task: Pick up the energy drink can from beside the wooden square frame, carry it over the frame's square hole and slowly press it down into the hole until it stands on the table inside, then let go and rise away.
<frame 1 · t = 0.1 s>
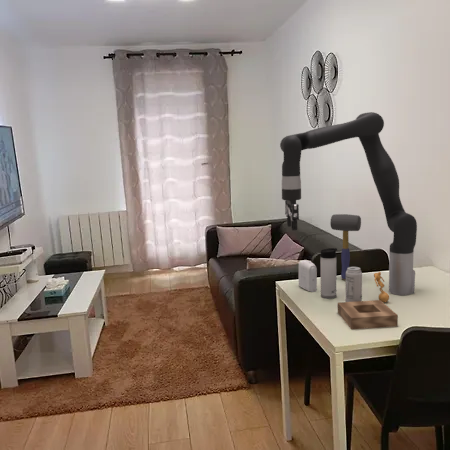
hand: (292, 228, 195), 29 cm above the table, tool pointing down, fingers open, 8 cm apart
travel mug: (328, 296, 202), on the table
wooden square frame: (366, 319, 175), on the table
figurine: (381, 302, 193), on the table
rubber mallet: (345, 280, 224), on the table
photo printer: (307, 289, 213), on the table
energy drink can: (353, 306, 189), on the table
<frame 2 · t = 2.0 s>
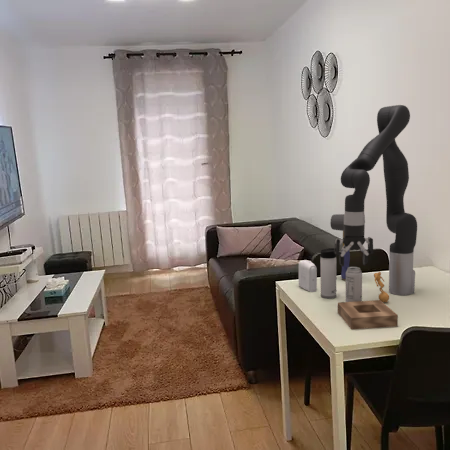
hand: (353, 265, 186), 16 cm above the table, tool pointing down, fingers open, 8 cm apart
nothing on the table moved.
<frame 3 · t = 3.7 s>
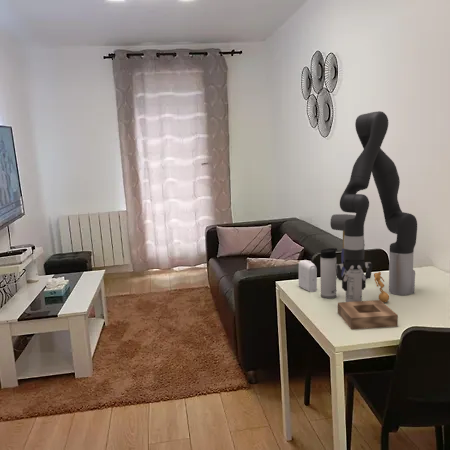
hand: (353, 289, 188), 7 cm above the table, tool pointing down, fingers closed on energy drink can, 6 cm apart
energy drink can: (353, 306, 189), on the table, touching gripper
everything else where it was.
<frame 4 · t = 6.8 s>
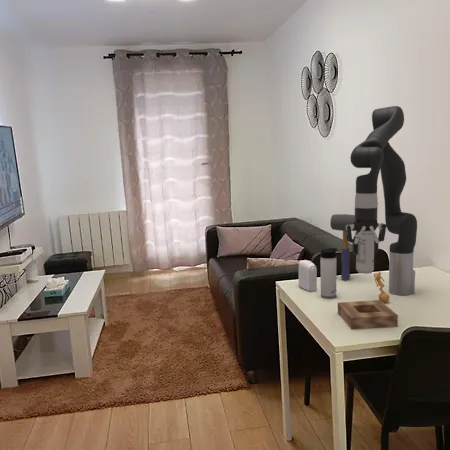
hand: (365, 253, 172), 24 cm above the table, tool pointing down, fingers closed on energy drink can, 6 cm apart
energy drink can: (364, 272, 173), point 17 cm above the table, touching gripper
everything else where it was.
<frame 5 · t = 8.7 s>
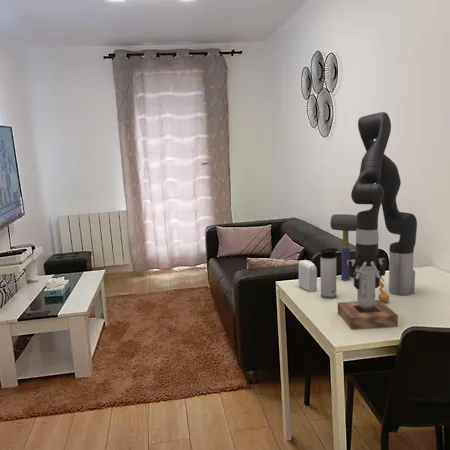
hand: (366, 287, 173), 12 cm above the table, tool pointing down, fingers closed on energy drink can, 6 cm apart
energy drink can: (366, 306, 175), point 5 cm above the table, touching gripper
everything else where it was.
when the fingers open (7 cm above the table, at t = 10.0 s): energy drink can stays where it is, resting in wooden square frame.
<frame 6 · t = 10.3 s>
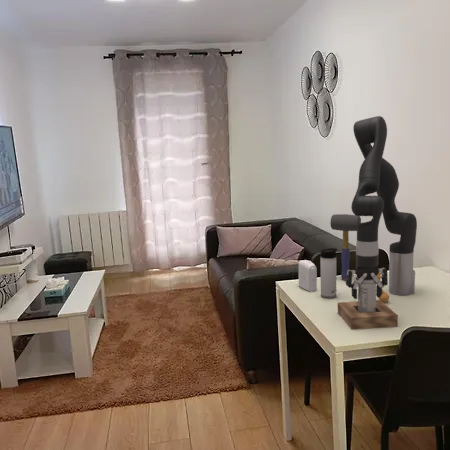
hand: (366, 297, 174), 8 cm above the table, tool pointing down, fingers open, 8 cm apart
energy drink can: (366, 319, 175), resting in wooden square frame
everything else where it was.
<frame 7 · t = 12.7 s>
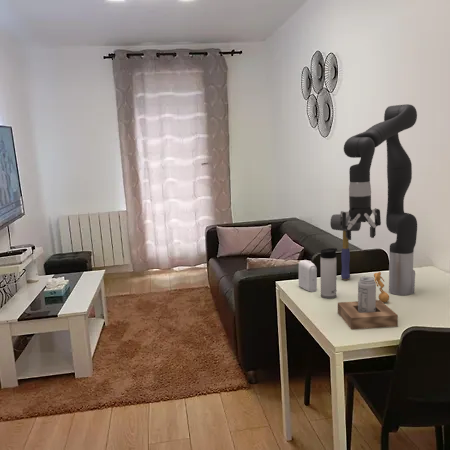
hand: (360, 238, 178), 28 cm above the table, tool pointing down, fingers open, 8 cm apart
nothing on the table moved.
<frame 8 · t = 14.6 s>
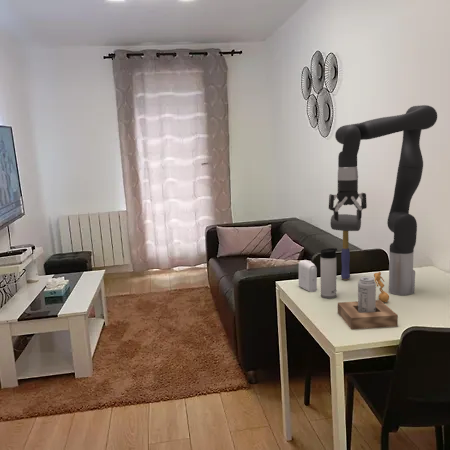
hand: (347, 220, 191), 32 cm above the table, tool pointing down, fingers open, 8 cm apart
nothing on the table moved.
at the end: energy drink can 0.1 cm off-centre on the wooden square frame, point 0.0 cm above the wooden square frame's base; energy drink can tilted 0°; the gripper is holding nothing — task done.
